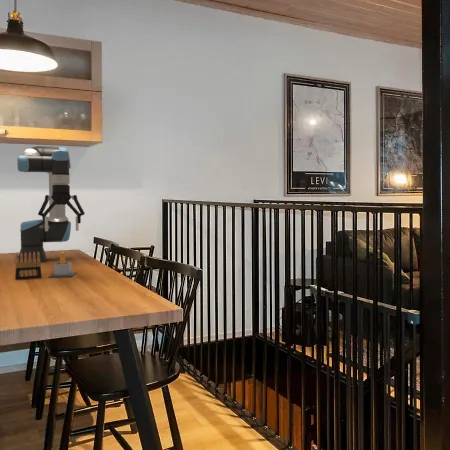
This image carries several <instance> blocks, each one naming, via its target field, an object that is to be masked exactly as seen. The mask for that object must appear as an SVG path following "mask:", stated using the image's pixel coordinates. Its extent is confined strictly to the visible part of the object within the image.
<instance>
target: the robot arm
mask: <svg viewBox="0 0 450 450" xmlns="http://www.w3.org/2000/svg"><path fill="white" fill-rule="evenodd" d="M16 161H17V162H16V163H17V171H18V172H20V173H21V172H22V173H47V175H48V194H45V197H44V201H43V203H42V204H41V207H40V209H39V211H38V213H37V215H38V216H41V217H42V219H34V220H26V221H23V222H21V223H20V228H19V229H20V230H19V232H20V250H19V252H18V253H19V254H18V256H19V264H20V253H21V252H22V255H23V262H24V254H25V252H26V253H27V260H28V258H29V252H30V253H31V258H32V261H33V252H35V255H36V263H37V253H38V251H39V253H40V261H41V263H44V262H47V261H48V258H47V254H46V251H45V249H44V243H63V242H68V241H69V240H70V236H71V230H72V222H71V221H69V218H68V217H67V216H66V205H67V206H68V207H69V208H70V209H71V210H72V212H74V214H75V215H76V216H75V231H76V232H77V231H80V230H79V224H81V223H82V222H81V221H82V218H81V217H82V216H84V215H85V211H84V209H83V207H82V205H81V204H80V202H79V200H78V199H79V198H78V196H77V194H73V195H71V187H70V185H69V184H70V183H71V182H70V169H71V159H70V152H69V150H68V147H65V146H64V147H62V146H42V145H41V146H39V145H38V146H32V147H28V148H27V149H25V150H23V151H22V153H21V154H20V155H18V156H17V159H16ZM71 199H72V201H73V202H74V204H75V205H76V207H77V208H75V206H74V205H73V203H72V202H71ZM47 205H48V207H47ZM46 207H47V209H46ZM77 209H78V210H77ZM48 214H49V216H47V215H48Z"/></svg>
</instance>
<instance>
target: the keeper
mask: <svg viewBox="0 0 450 450" xmlns="http://www.w3.org/2000/svg"><path fill="white" fill-rule="evenodd" d="M59 262H60V264H65V262H66V252H64V251H61V252H60V253H59ZM77 273H78V272H77V271H72V273H71V274H69V275H54V272H53V273H52V274H50V275H48V277H47V278H49V279H52V278H53V279H54V278H57V279H58V278H72V277H73V276H75V275H76V274H77Z"/></svg>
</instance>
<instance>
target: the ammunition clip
mask: <svg viewBox="0 0 450 450" xmlns="http://www.w3.org/2000/svg"><path fill="white" fill-rule="evenodd" d="M18 253H20V252H16V254H15V262H14V263H15V265H14V266H15V269H14V270H15V272H14V273H15V275H14V277H15V278H14V279H15V280H16V281H18V280H19V281H20V280H30V279H31V280H32V279H42V278H43V277H42V268H41V267H42V265H41V263H42V262H41V261H40V253H39V251H38V253H37V266H36V255H35V252H33V261H32V258H31V253H30V252H29V258H28V260H27V253H26V252H25V254H24V262H23V255H22V252H21V253H20V263H19V254H18ZM32 266H33V267H32ZM32 270H33V275H32Z"/></svg>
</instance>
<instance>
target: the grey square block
mask: <svg viewBox="0 0 450 450" xmlns="http://www.w3.org/2000/svg"><path fill="white" fill-rule="evenodd" d="M72 272H73V271H72V262H71V261H69V262H68V261H67V262H66V261H65V264H60V261H58V262H55V263H54V264H53V273H54V275H69V274H71V273H72Z"/></svg>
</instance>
